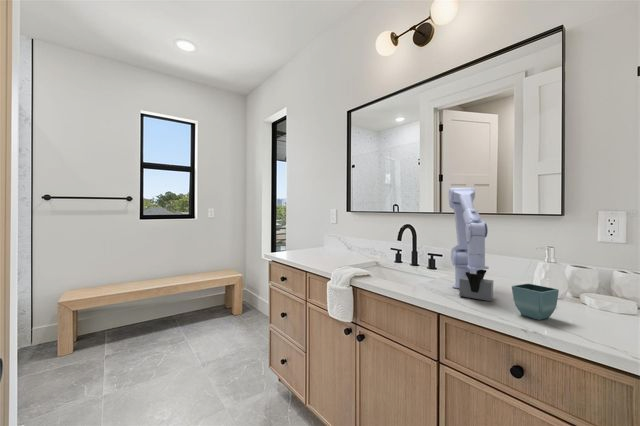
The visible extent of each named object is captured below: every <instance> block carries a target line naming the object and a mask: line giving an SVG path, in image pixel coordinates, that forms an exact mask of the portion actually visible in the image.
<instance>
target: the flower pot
mask: <svg viewBox="0 0 640 426" xmlns="http://www.w3.org/2000/svg"><path fill="white" fill-rule="evenodd" d="M511 291H512V292H511V293H512V297H513V302H514V305H515V307H516V309H517V311H518V312H519V313H520V315H521V316H525V317H527V318H531V319H535V320H537V321H541V320H545V319H549V318H550V317H551V316H552V314H553V313H554V312H555V310H556V308H557V305H558V298H559V297H558V296H559V292H560V291H559V288H553V287H548V286H545V285H543V286H542V285H537V284H533V283H523V284H521V283H520V284H517V285H516V284H515V285H511Z"/></svg>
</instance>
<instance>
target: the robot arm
mask: <svg viewBox="0 0 640 426" xmlns="http://www.w3.org/2000/svg"><path fill="white" fill-rule="evenodd" d="M475 198H476V190H475V189H474V187H472V186H471V187H450V188H449V190H448V204H449V208H451V209H452V210H453V213H454V223H455V230H456V232H455V233H456V241H457V244H455V245H454V246H453V247H452V248H451V250H450V251H451V252H450V254H451V255H450V260H451V265H452V266H454V268H455V269H454V270H455V272H454V273H455V274H454V279H455V280H454V281H455V282H454V285H452V288H454V289H459V288H460V278H461V277H463V276H465V277H467V278H468V280H469V283H470V288H471V291H472V292H477V293H478V291H479V286H480V281H481V279H484V277H485V275H486V274H487V270H489V268H490V267H489V266H486V238H487V236H488V230H489V228H488V224H487V222H486V221H484V220H482V218H481V216H480V213H479V210H477V209H475V207H474V201H475Z"/></svg>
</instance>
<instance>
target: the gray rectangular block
mask: <svg viewBox="0 0 640 426" xmlns="http://www.w3.org/2000/svg"><path fill="white" fill-rule="evenodd" d="M458 289H459V297H464V298H465V297H466V298H470V299H471V298H472V299H475V300H482V301H488V302H492V300H493V299H494V280H493V279H487V278H486V279H484V278H483V279H481V281H480V286H479V291H478V293H477V292H472V291H471V288H470V283H469V280H468V278H467V277H465V276H463V277H461V278H460V288H458Z"/></svg>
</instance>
